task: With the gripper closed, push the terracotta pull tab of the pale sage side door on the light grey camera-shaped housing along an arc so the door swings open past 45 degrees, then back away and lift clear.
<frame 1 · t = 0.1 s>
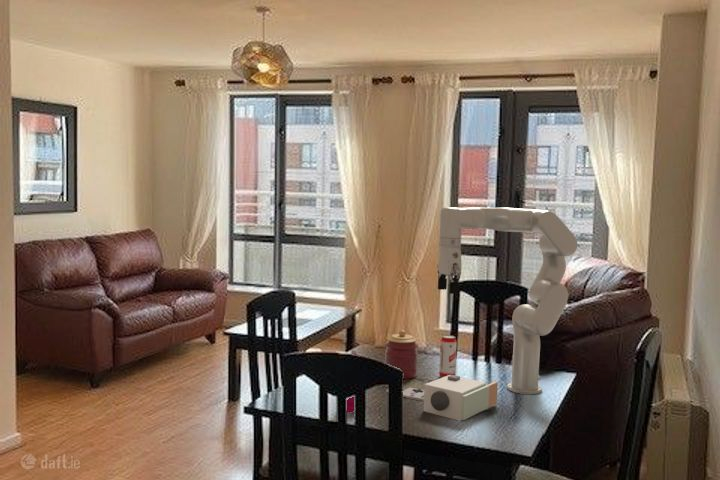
hand: (447, 291, 245), 37 cm above the table, tool pointing down, fingers open, 9 cm apart
beer can: (447, 377, 272), on the table
side door: (480, 399, 228), point 5 cm above the table, hinge at 0.0°
canister: (400, 375, 273), on the table
pepper mill: (352, 410, 228), on the table
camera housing: (454, 410, 231), on the table
handheld gaming console: (423, 398, 246), on the table
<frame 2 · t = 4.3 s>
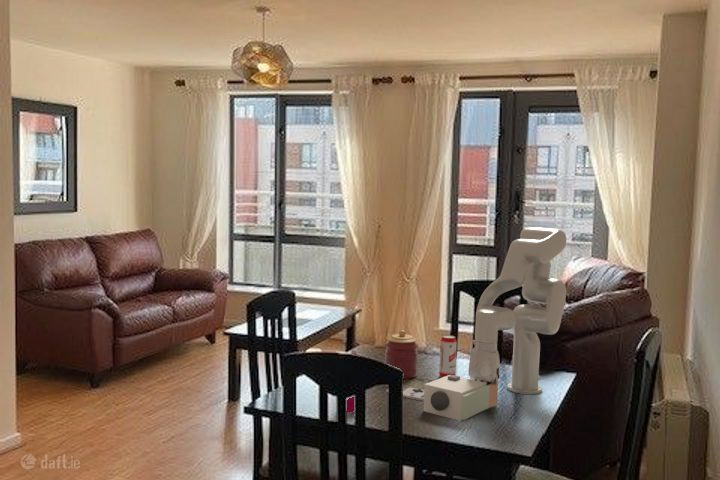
hand: (483, 399, 238), 2 cm above the table, tool pointing down, fingers closed
side door: (480, 400, 228), point 4 cm above the table, hinge at 0.3°, touching gripper
everything else where it was.
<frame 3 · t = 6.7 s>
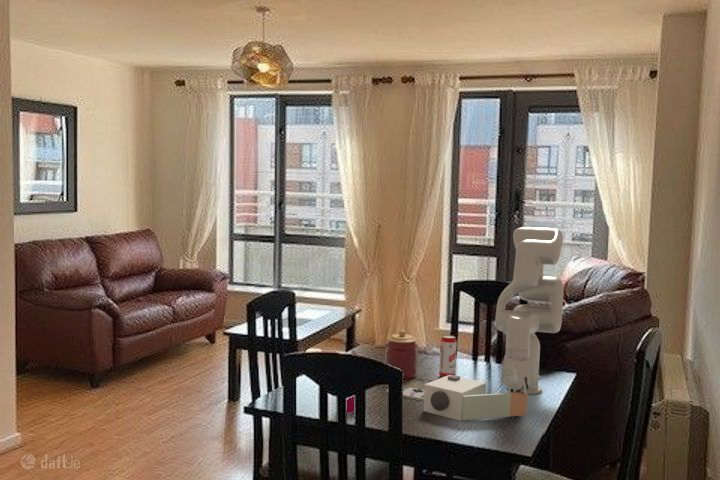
hand: (514, 408, 230), 2 cm above the table, tool pointing down, fingers closed
side door: (495, 405, 223), point 5 cm above the table, hinge at 34.7°, touching gripper
everything else where it was.
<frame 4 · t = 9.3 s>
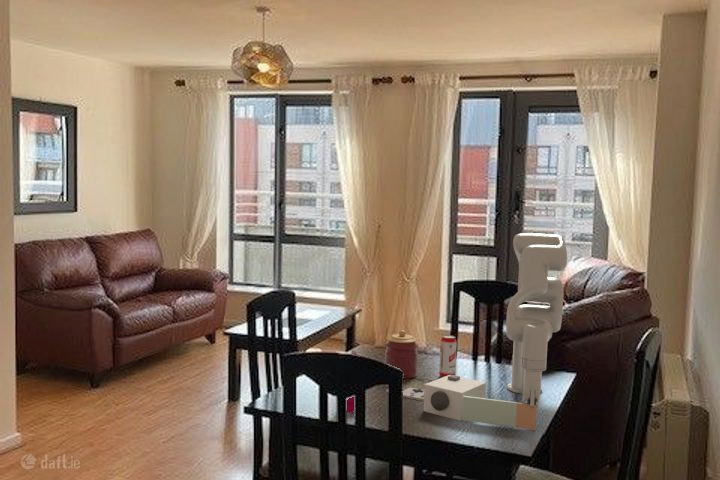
hand: (530, 421, 217), 2 cm above the table, tool pointing down, fingers closed
side door: (499, 412, 216), point 5 cm above the table, hinge at 70.4°, touching gripper
everything else where it was.
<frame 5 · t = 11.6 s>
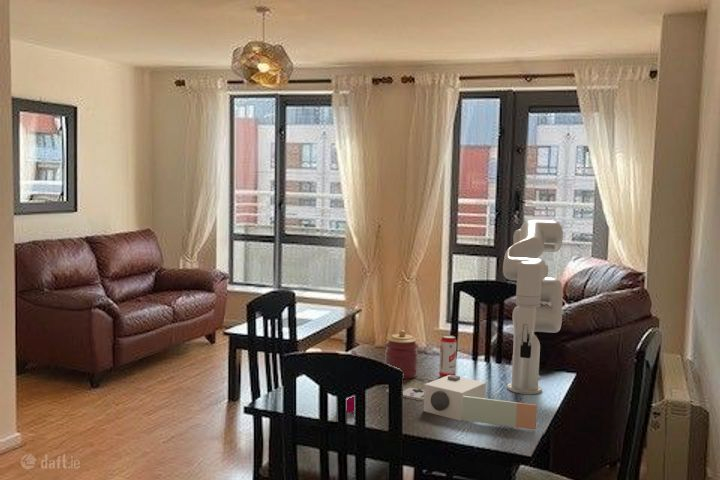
hand: (525, 357, 223), 20 cm above the table, tool pointing down, fingers closed
side door: (499, 412, 216), point 5 cm above the table, hinge at 70.5°
everything else where it was.
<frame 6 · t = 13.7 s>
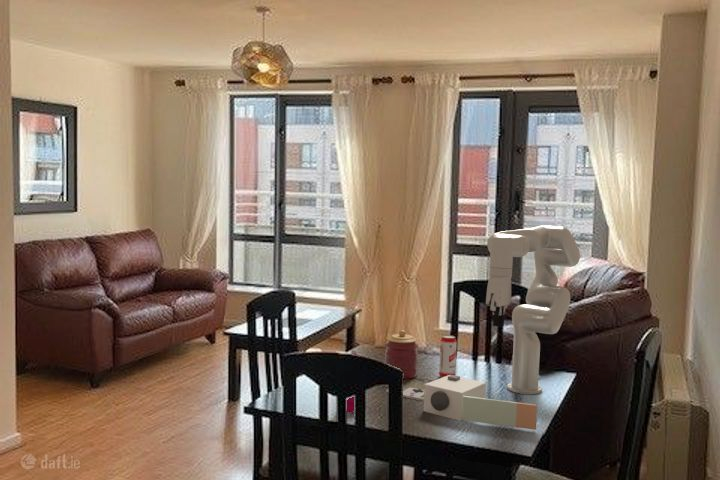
hand: (498, 326, 237), 27 cm above the table, tool pointing down, fingers closed
nothing on the table moved.
at the end: side door at +70° (first picture: +0°) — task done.
